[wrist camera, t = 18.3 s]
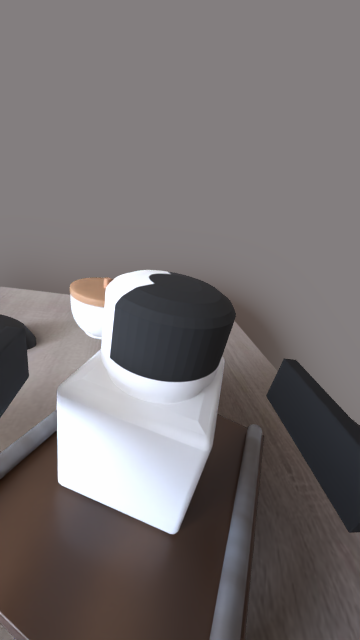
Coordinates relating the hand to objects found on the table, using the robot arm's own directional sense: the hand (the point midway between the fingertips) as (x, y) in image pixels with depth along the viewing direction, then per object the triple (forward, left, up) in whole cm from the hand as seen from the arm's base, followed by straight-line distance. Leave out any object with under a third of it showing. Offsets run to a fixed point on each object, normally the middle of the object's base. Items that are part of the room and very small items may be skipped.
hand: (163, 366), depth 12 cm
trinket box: (+19, -20, -14) cm, 31 cm away
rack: (0, 0, -14) cm, 14 cm away
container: (+1, -1, -9) cm, 9 cm away
